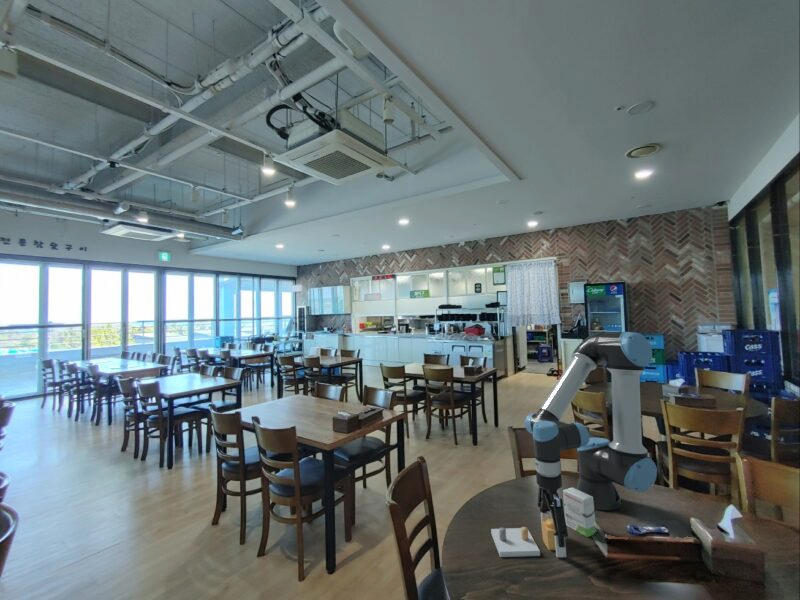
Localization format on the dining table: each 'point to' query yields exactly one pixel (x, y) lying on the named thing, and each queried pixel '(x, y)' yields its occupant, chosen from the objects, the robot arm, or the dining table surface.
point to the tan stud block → (549, 534)
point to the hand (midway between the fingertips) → (553, 544)
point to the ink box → (579, 511)
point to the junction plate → (514, 542)
